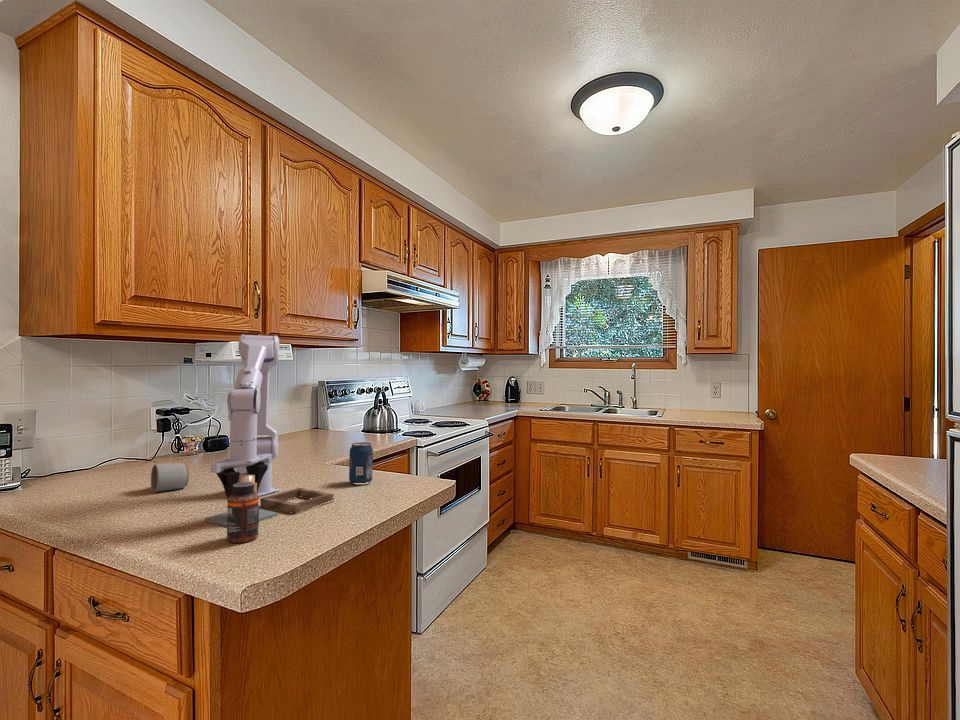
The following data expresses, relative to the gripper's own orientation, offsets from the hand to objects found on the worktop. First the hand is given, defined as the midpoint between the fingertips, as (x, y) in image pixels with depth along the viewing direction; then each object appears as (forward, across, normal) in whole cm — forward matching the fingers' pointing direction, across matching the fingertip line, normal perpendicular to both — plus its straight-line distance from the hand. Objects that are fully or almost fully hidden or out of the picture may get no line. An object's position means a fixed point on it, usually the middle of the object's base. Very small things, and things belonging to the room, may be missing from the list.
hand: (242, 497), depth 113 cm
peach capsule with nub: (+3, 0, 0) cm, 3 cm away
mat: (+5, 0, 0) cm, 5 cm away
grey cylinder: (+5, +6, +41) cm, 42 cm away
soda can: (+5, +40, -1) cm, 40 cm away
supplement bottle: (+5, -8, -12) cm, 16 cm away
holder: (+5, +14, -2) cm, 15 cm away
